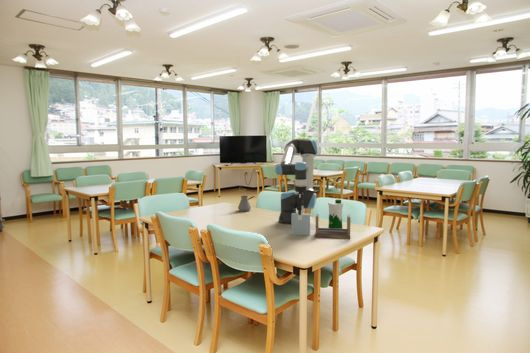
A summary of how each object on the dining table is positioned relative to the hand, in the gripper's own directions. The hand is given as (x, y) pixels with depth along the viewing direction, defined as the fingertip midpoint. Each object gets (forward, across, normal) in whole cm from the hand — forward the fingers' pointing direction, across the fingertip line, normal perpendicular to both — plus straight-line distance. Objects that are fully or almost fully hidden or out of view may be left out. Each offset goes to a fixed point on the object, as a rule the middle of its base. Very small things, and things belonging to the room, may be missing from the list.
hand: (300, 217), depth 241 cm
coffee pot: (+11, -66, -51) cm, 84 cm away
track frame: (+12, -1, +21) cm, 24 cm away
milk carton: (+12, -21, +23) cm, 33 cm away
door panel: (+12, -1, 0) cm, 12 cm away
